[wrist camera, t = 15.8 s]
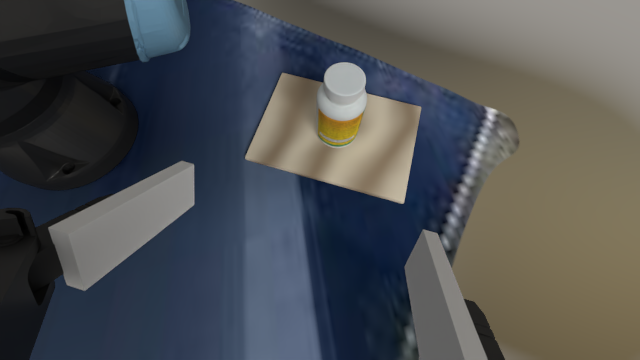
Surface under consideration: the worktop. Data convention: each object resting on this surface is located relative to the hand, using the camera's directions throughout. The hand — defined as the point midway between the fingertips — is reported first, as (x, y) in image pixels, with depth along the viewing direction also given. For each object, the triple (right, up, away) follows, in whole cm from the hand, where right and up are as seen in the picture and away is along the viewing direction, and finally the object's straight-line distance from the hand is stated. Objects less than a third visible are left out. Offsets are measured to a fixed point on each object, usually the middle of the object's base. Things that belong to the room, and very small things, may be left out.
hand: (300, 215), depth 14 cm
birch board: (+3, +8, +19) cm, 21 cm away
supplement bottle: (+3, +8, +19) cm, 21 cm away
